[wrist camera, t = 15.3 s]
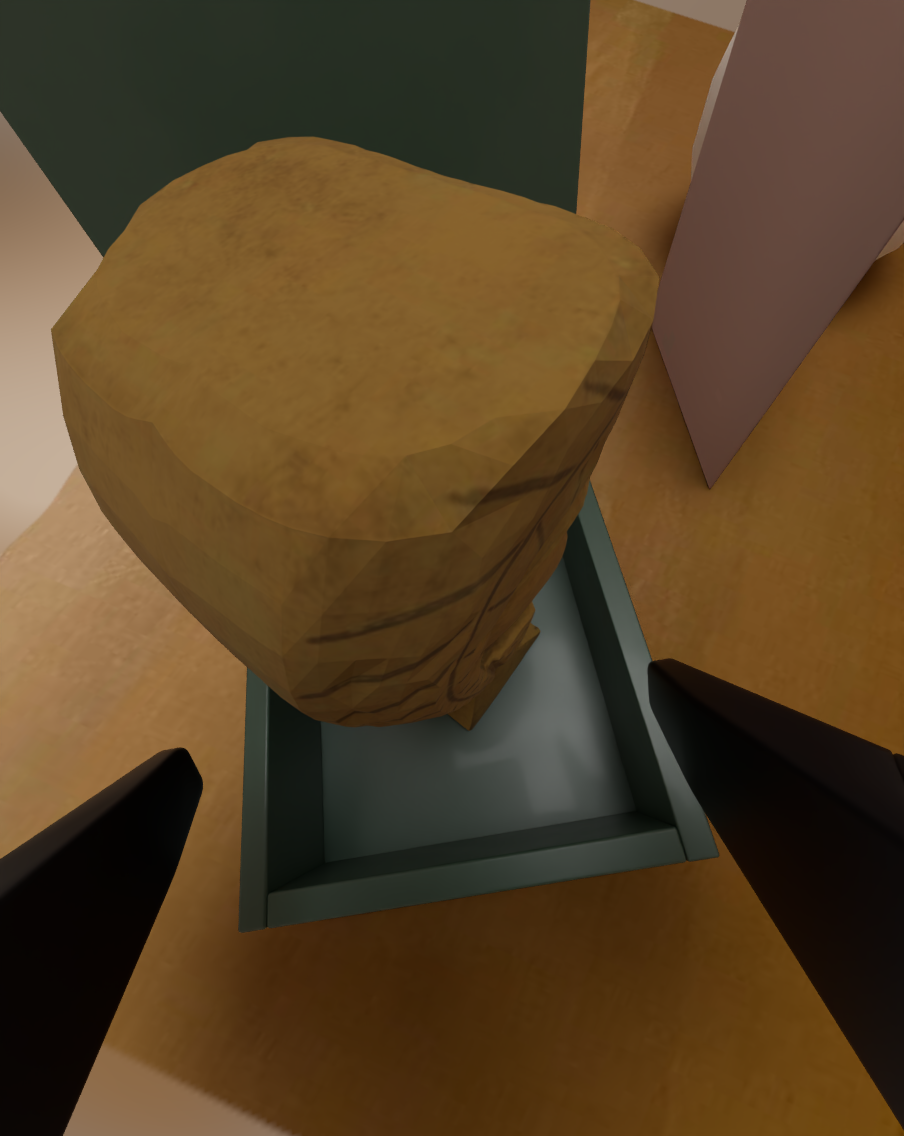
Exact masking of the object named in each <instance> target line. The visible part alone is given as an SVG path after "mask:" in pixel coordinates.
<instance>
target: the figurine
mask: <svg viewBox="0 0 904 1136" xmlns="http://www.w3.org/2000/svg"><path fill="white" fill-rule="evenodd" d="M659 278H660V277H659V276H658V274H657V273H656V271H655V270H654V268H653V267H652V265H651V264H650V262H649V261H648V259H647V258H646V256H645V255H644V253H643V251H642V250H641V249H640V248H639V247H638V246H636V245H635V244H633V243H632V242H631V241H629V240H628V239H627V238H625V237H624V236H622V235H621V234H620V233H618V232H617V231H616V230H614V229H612V228H610V227H607V226H605V225H602V224H600V223H598V222H595V221H593V220H590V219H588V218H585V217H582V216H580V215H577V214H575V213H572V212H569V211H567V210H564V209H561V208H559V207H556V206H552V205H548V204H543V203H538V202H535V201H533V200H530V199H527V198H525V197H521V196H518V195H515V194H511V193H508V192H505V191H501V190H497V189H493V188H488V187H484V186H480V185H476V184H472V183H469V182H465V181H462V180H459V179H455V178H451V177H447V176H443V175H440V174H437V173H435V172H432V171H429V170H426V169H423V168H420V167H416V166H414V165H411V164H409V163H406V162H403V161H401V160H398V159H396V158H393V157H390V156H387V155H383V154H380V153H377V152H373V151H368V150H365V149H363V148H360V147H358V146H356V145H351V144H347V143H342V142H338V141H333V140H328V139H323V138H318V137H287V138H281V139H274V140H268V141H262V142H257V143H256V144H254V145H253V146H251V147H250V148H249V149H247V150H245V151H241V152H238V153H234V154H230V155H227V156H224V157H222V158H220V159H217V160H215V161H213V162H210V163H208V164H205V165H203V166H201V167H199V168H197V169H195V170H193V171H191V172H189V173H187V174H185V175H183V176H181V177H179V178H177V179H175V180H173V181H172V182H170V183H169V184H168V185H166V186H165V187H164V188H162V189H161V190H160V191H158V192H157V193H156V194H154V195H153V196H152V197H150V198H149V199H147V200H146V201H145V202H143V203H142V204H141V205H140V206H139V207H138V209H137V211H136V212H135V214H134V215H133V217H132V219H131V220H130V222H129V224H128V225H127V227H126V229H125V230H124V232H123V233H122V234H121V235H120V236H119V237H118V238H117V240H116V241H115V242H114V243H113V244H112V245H111V246H110V248H109V249H108V250H107V252H106V254H105V256H104V258H103V260H102V262H101V264H100V266H99V268H98V269H97V271H96V272H95V273H94V275H93V276H92V277H91V278H90V280H89V281H88V282H87V284H86V285H85V286H84V288H83V289H82V290H81V291H80V293H79V294H78V295H77V297H76V298H75V299H74V300H73V302H72V303H71V304H70V306H69V307H68V308H67V310H66V311H65V312H64V313H63V315H62V316H61V317H60V319H59V320H58V321H57V322H56V324H55V325H54V326H53V328H52V329H51V332H52V339H53V347H54V354H55V361H56V367H57V375H58V381H59V389H60V396H61V403H62V410H63V416H64V419H65V423H66V426H67V429H68V433H69V436H70V440H71V442H72V446H73V450H74V453H75V456H76V460H77V463H78V466H79V469H80V471H81V473H82V475H83V477H84V479H85V480H86V482H87V484H88V486H89V488H90V490H91V492H92V494H93V495H94V497H95V499H96V501H97V503H98V505H99V507H100V509H101V511H102V512H103V514H104V515H105V516H106V518H107V519H108V520H109V522H110V523H111V525H112V526H113V527H114V529H115V530H116V531H117V532H118V534H119V535H120V536H121V537H122V538H123V540H124V541H125V542H126V543H127V545H128V546H129V547H130V548H131V549H132V551H133V552H134V553H135V554H136V556H137V557H138V558H139V559H140V560H141V561H142V562H143V563H144V565H145V566H146V567H147V568H148V569H149V570H150V571H151V572H152V573H153V574H154V575H155V576H156V577H157V578H158V579H159V581H160V582H161V583H162V584H163V585H164V586H165V587H166V588H167V589H168V590H169V591H170V592H171V593H172V594H173V595H174V596H175V598H176V599H177V600H178V601H179V602H180V603H181V604H182V605H183V606H184V607H185V608H186V609H187V610H188V611H189V612H190V613H191V614H192V615H193V616H194V617H195V618H196V619H197V620H198V621H199V622H200V623H201V624H202V625H203V626H204V627H205V628H206V629H207V630H208V631H209V632H210V633H211V634H212V635H213V636H214V637H215V638H216V639H217V640H218V641H219V642H220V643H221V644H223V645H224V646H225V647H226V648H227V649H228V650H229V651H230V652H231V653H232V654H233V655H234V656H235V657H237V658H238V659H239V660H240V661H241V662H242V663H243V664H244V665H245V666H247V667H248V668H249V669H250V670H251V671H252V672H253V673H254V674H255V675H257V676H258V677H259V678H260V679H261V680H262V681H263V682H264V683H265V684H267V685H268V686H269V687H270V688H271V689H272V690H273V691H274V692H275V693H277V694H278V695H279V696H280V697H281V698H283V699H284V700H285V701H287V702H288V703H289V704H291V705H292V706H294V707H295V708H296V709H298V710H299V711H300V712H302V713H304V714H306V715H307V716H309V717H311V718H313V719H315V720H318V721H323V722H327V723H331V724H336V725H340V726H345V727H361V726H367V725H368V726H375V727H384V726H392V725H399V724H406V723H412V722H417V721H422V720H426V719H431V718H435V717H440V716H443V715H446V714H448V715H450V716H451V717H452V718H453V719H455V720H456V721H457V722H458V723H459V724H461V725H462V726H463V727H464V728H466V729H467V730H468V731H470V730H472V729H473V728H474V726H475V725H476V724H477V723H478V721H479V720H480V719H481V717H482V716H483V715H484V713H485V712H486V710H487V709H488V708H489V706H490V705H491V703H492V702H493V701H494V699H495V698H496V697H497V695H498V694H499V692H500V691H501V689H502V688H503V686H504V685H505V684H506V682H507V681H508V679H509V678H510V676H511V675H512V674H513V672H514V671H515V669H516V668H517V666H518V665H519V663H520V662H521V660H522V659H523V657H524V656H525V654H526V653H527V651H528V650H529V648H530V647H531V646H532V644H533V643H534V641H535V640H536V638H537V637H538V635H539V634H540V632H541V631H540V630H539V628H538V627H536V626H534V625H533V624H532V623H531V621H532V618H533V615H534V613H535V608H534V605H533V602H532V600H533V599H534V598H535V596H536V595H537V594H538V593H539V591H540V590H541V589H542V587H543V586H544V585H545V584H546V582H547V581H548V580H549V578H550V577H551V576H552V574H553V573H554V571H555V569H556V568H557V566H558V564H559V562H560V560H561V558H562V556H563V553H564V550H565V547H566V542H567V537H568V536H567V530H568V529H569V527H570V526H571V524H572V523H573V522H574V520H575V518H576V517H577V515H578V514H579V512H580V510H581V509H582V507H583V505H584V501H585V497H586V495H587V492H588V486H589V481H590V476H591V474H592V472H593V470H594V468H595V466H596V464H597V462H598V459H599V457H600V454H601V451H602V449H603V446H604V443H605V441H606V439H607V437H608V435H609V434H610V432H611V430H612V428H613V426H614V424H615V422H616V420H617V417H618V415H619V413H620V410H621V408H622V405H623V403H624V401H625V398H626V396H627V393H628V391H629V389H630V386H631V384H632V381H633V379H634V377H635V374H636V372H637V370H638V367H639V365H640V363H641V360H642V358H643V356H644V353H645V349H646V345H647V342H648V338H649V334H650V331H651V327H652V324H653V320H654V313H655V306H656V299H657V292H658V285H659Z"/></svg>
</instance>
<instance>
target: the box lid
mask: <svg viewBox="0 0 904 1136" xmlns="http://www.w3.org/2000/svg"><path fill="white" fill-rule="evenodd" d="M589 13H590V0H0V112H1V113H2V114H3V116H4V117H5V119H6V120H7V121H8V123H9V124H10V126H11V127H12V129H13V130H14V131H15V133H16V134H17V136H18V137H19V138H20V140H21V141H22V143H23V144H24V145H25V147H26V148H27V150H28V151H29V153H30V154H31V155H32V157H33V158H34V160H35V161H36V163H38V165H39V167H40V168H41V170H42V171H43V172H44V174H45V175H46V177H47V178H48V179H49V181H50V182H51V184H52V185H53V186H54V188H55V189H56V191H57V192H58V194H59V195H60V197H61V198H62V199H63V201H64V202H65V204H66V205H67V207H68V208H69V209H70V211H71V212H72V214H73V215H74V216H75V218H76V219H77V221H78V222H79V224H80V225H81V226H82V228H83V229H84V231H85V232H86V233H87V235H88V236H89V238H90V239H91V240H92V242H93V243H94V245H95V246H96V248H97V249H98V250H99V252H100V253H101V255H102V256H103V258H104V256H105V254H106V252H107V250H108V249H109V248H110V246H111V245H112V244H113V243H114V242H115V241H116V240H117V238H118V237H119V236H120V235H121V234H122V233H123V232H124V230H125V229H126V227H127V225H128V224H129V222H130V220H131V219H132V217H133V215H134V214H135V212H136V211H137V209H138V207H139V206H140V205H141V204H142V203H143V202H145V201H146V200H147V199H149V198H150V197H152V196H153V195H154V194H156V193H157V192H158V191H160V190H161V189H162V188H164V187H165V186H166V185H168V184H169V183H170V182H172V181H173V180H175V179H177V178H179V177H181V176H183V175H185V174H187V173H189V172H191V171H193V170H195V169H197V168H199V167H201V166H203V165H205V164H208V163H210V162H213V161H215V160H217V159H220V158H222V157H224V156H227V155H230V154H234V153H238V152H241V151H245V150H247V149H249V148H250V147H251V146H253V145H254V144H256V143H257V142H262V141H268V140H274V139H281V138H287V137H318V138H323V139H328V140H333V141H338V142H342V143H347V144H351V145H356V146H358V147H360V148H363V149H365V150H368V151H373V152H377V153H380V154H383V155H387V156H390V157H393V158H396V159H398V160H401V161H403V162H406V163H409V164H411V165H414V166H416V167H420V168H423V169H426V170H429V171H432V172H435V173H437V174H440V175H443V176H447V177H451V178H455V179H459V180H462V181H465V182H469V183H472V184H476V185H480V186H484V187H488V188H493V189H497V190H501V191H505V192H508V193H511V194H515V195H518V196H521V197H525V198H527V199H530V200H533V201H535V202H538V203H543V204H548V205H552V206H556V207H559V208H561V209H564V210H567V211H569V212H572V213H575V214H576V209H577V194H578V179H579V164H580V149H581V134H582V119H583V104H584V89H585V73H586V58H587V43H588V28H589Z"/></svg>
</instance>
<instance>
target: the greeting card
mask: <svg viewBox="0 0 904 1136" xmlns="http://www.w3.org/2000/svg"><path fill="white" fill-rule="evenodd" d="M903 221H904V0H747V1H746V5H745V8H744V11H743V15H742V18H741V21H740V24H739V27H738V31H737V34H736V37H735V40H734V44H733V47H732V50H731V53H730V57H729V60H728V63H727V66H726V70H725V73H724V76H723V79H722V83H721V86H720V89H719V92H718V96H717V99H716V102H715V105H714V109H713V112H712V115H711V119H710V122H709V125H708V128H707V132H706V135H705V138H704V141H703V145H702V148H701V151H700V154H699V158H698V161H697V164H696V167H695V171H694V174H693V177H692V180H691V184H690V187H689V190H688V193H687V197H686V200H685V203H684V206H683V210H682V213H681V216H680V219H679V223H678V226H677V229H676V233H675V236H674V239H673V242H672V246H671V249H670V252H669V255H668V259H667V262H666V265H665V268H664V272H663V275H662V278H661V281H660V285H659V288H658V292H657V299H656V306H655V313H654V320H653V324H652V330H653V333H654V335H655V338H656V341H657V344H658V347H659V349H660V352H661V355H662V358H663V361H664V363H665V366H666V369H667V372H668V375H669V377H670V380H671V383H672V386H673V389H674V391H675V394H676V397H677V400H678V402H679V405H680V408H681V411H682V414H683V416H684V419H685V422H686V425H687V428H688V430H689V433H690V436H691V439H692V442H693V444H694V447H695V450H696V453H697V456H698V458H699V461H700V464H701V467H702V470H703V472H704V475H705V478H706V481H707V484H708V486H709V489H711V487H712V486H713V485H714V483H715V482H716V481H717V479H718V478H719V476H720V475H721V474H722V472H723V471H724V469H725V468H726V467H727V465H728V464H729V462H730V461H731V460H732V458H733V457H734V456H735V454H736V453H737V451H738V450H739V449H740V447H741V446H742V444H743V443H744V442H745V440H746V439H747V437H748V436H749V435H750V433H751V432H752V431H753V429H754V428H755V426H756V425H757V424H758V422H759V421H760V419H761V418H762V417H763V415H764V414H765V412H766V411H767V410H768V408H769V407H770V406H771V404H772V403H773V401H774V400H775V399H776V397H777V396H778V394H779V393H780V392H781V390H782V389H783V387H784V386H785V385H786V383H787V382H788V381H789V379H790V378H791V376H792V375H793V374H794V372H795V371H796V369H797V368H798V367H799V365H800V364H801V362H802V361H803V360H804V358H805V357H806V355H807V354H808V353H809V351H810V350H811V349H812V347H813V346H814V344H815V343H816V342H817V340H818V339H819V337H820V336H821V335H822V333H823V332H824V330H825V329H826V328H827V326H828V325H829V324H830V322H831V321H832V319H833V318H834V317H835V315H836V314H837V312H838V311H839V310H840V308H841V307H842V305H843V304H844V303H845V301H846V300H847V299H848V297H849V296H850V294H851V293H852V292H853V290H854V289H855V287H856V286H857V285H858V283H859V282H860V280H861V279H862V278H863V276H864V275H865V274H866V272H867V271H868V269H869V268H870V267H871V265H872V264H873V262H874V261H875V260H876V258H877V257H878V255H879V254H880V253H881V251H882V250H883V249H884V247H885V246H886V244H887V243H888V242H889V240H890V239H891V237H892V236H893V235H894V233H895V232H896V230H897V229H898V228H899V226H900V225H901V223H902V222H903Z"/></svg>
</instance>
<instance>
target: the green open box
mask: <svg viewBox="0 0 904 1136" xmlns="http://www.w3.org/2000/svg"><path fill="white" fill-rule="evenodd" d="M567 536H568V537H567V542H566V547H565V550H564V553H563V556H562V558H561V560H560V562H559V564H558V566H557V568H556V569H555V571H554V573H553V574H552V576H551V577H550V578H549V580H548V581H547V582H546V584H545V585H544V586H543V587H542V589H541V590H540V591H539V593H538V594H537V595H536V596H535V598H534V599H533V600H532V602H533V605H534V608H535V613H534V615H533V618H532V621H531V623H532V624H533V625H534V626H536V627H538V628H539V630H540V631H541V632H540V634H539V635H538V637H537V638H536V640H535V641H534V643H533V644H532V646H531V647H530V648H529V650H528V651H527V653H526V654H525V656H524V657H523V659H522V660H521V662H520V663H519V665H518V666H517V668H516V669H515V671H514V672H513V674H512V675H511V676H510V678H509V679H508V681H507V682H506V684H505V685H504V686H503V688H502V689H501V691H500V692H499V694H498V695H497V697H496V698H495V699H494V701H493V702H492V703H491V705H490V706H489V708H488V709H487V710H486V712H485V713H484V715H483V716H482V717H481V719H480V720H479V721H478V723H477V724H476V725H475V726H474V728H473V729H472V730H470V731H468V730H467V729H466V728H464V727H463V726H462V725H461V724H459V723H458V722H457V721H456V720H455V719H453V718H452V717H451V716H450V715H448V714H446V715H443V716H440V717H435V718H431V719H426V720H422V721H417V722H412V723H406V724H399V725H392V726H384V727H375V726H368V725H367V726H361V727H345V726H340V725H336V724H331V723H327V722H323V721H318V720H315V719H313V718H311V717H309V716H307V715H306V714H304V713H302V712H300V711H299V710H298V709H296V708H295V707H294V706H292V705H291V704H289V703H288V702H287V701H285V700H284V699H283V698H281V697H280V696H279V695H278V694H277V693H275V692H274V691H273V690H272V689H271V688H270V687H269V686H268V685H267V684H265V683H264V682H263V681H262V680H261V679H260V678H259V677H258V676H257V675H255V674H254V673H253V672H252V671H251V670H250V669H249V668H248V667H247V687H246V717H245V747H244V777H243V807H242V837H241V867H240V897H239V927H238V930H239V932H241V933H244V932H250V931H256V930H263V929H265V928H267V927H268V928H276V927H282V926H288V925H295V924H301V923H307V922H313V921H320V920H326V919H332V918H338V917H345V916H351V915H357V914H364V913H370V912H376V911H382V910H389V909H395V908H401V907H407V906H414V905H420V904H426V903H432V902H439V901H445V900H451V899H458V898H464V897H470V896H476V895H483V894H489V893H495V892H501V891H508V890H514V889H520V888H527V887H533V886H539V885H545V884H552V883H558V882H564V881H570V880H577V879H583V878H589V877H595V876H602V875H608V874H614V873H621V872H627V871H633V870H639V869H646V868H652V867H658V866H664V865H671V864H677V863H683V862H685V861H686V860H687V861H690V862H691V861H698V860H704V859H710V858H716V857H719V852H718V849H717V847H716V844H715V841H714V838H713V835H712V832H711V829H710V826H709V823H708V821H707V818H706V815H705V812H704V810H703V809H702V807H701V805H700V804H699V802H698V801H697V799H696V797H695V796H694V794H693V792H692V790H691V789H690V787H689V785H688V783H687V781H686V779H685V777H684V775H683V773H682V771H681V769H680V767H679V765H678V763H677V761H676V759H675V757H674V755H673V753H672V751H671V749H670V747H669V745H668V743H667V740H666V738H665V736H664V734H663V732H662V730H661V728H660V726H659V724H658V722H657V720H656V718H655V716H654V714H653V712H652V709H651V706H650V702H649V692H648V674H647V668H648V664H649V663H650V662H652V659H651V656H650V653H649V650H648V647H647V644H646V641H645V638H644V635H643V633H642V630H641V627H640V624H639V621H638V618H637V615H636V612H635V609H634V607H633V604H632V601H631V598H630V595H629V592H628V589H627V586H626V583H625V581H624V578H623V575H622V572H621V569H620V566H619V563H618V560H617V557H616V555H615V552H614V549H613V546H612V543H611V540H610V537H609V534H608V531H607V529H606V526H605V523H604V520H603V517H602V514H601V511H600V508H599V505H598V502H597V500H596V497H595V494H594V491H593V488H592V485H591V482H590V481H589V486H588V492H587V495H586V497H585V501H584V505H583V507H582V509H581V510H580V512H579V514H578V515H577V517H576V518H575V520H574V522H573V523H572V524H571V526H570V527H569V529H568V530H567Z"/></svg>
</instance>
